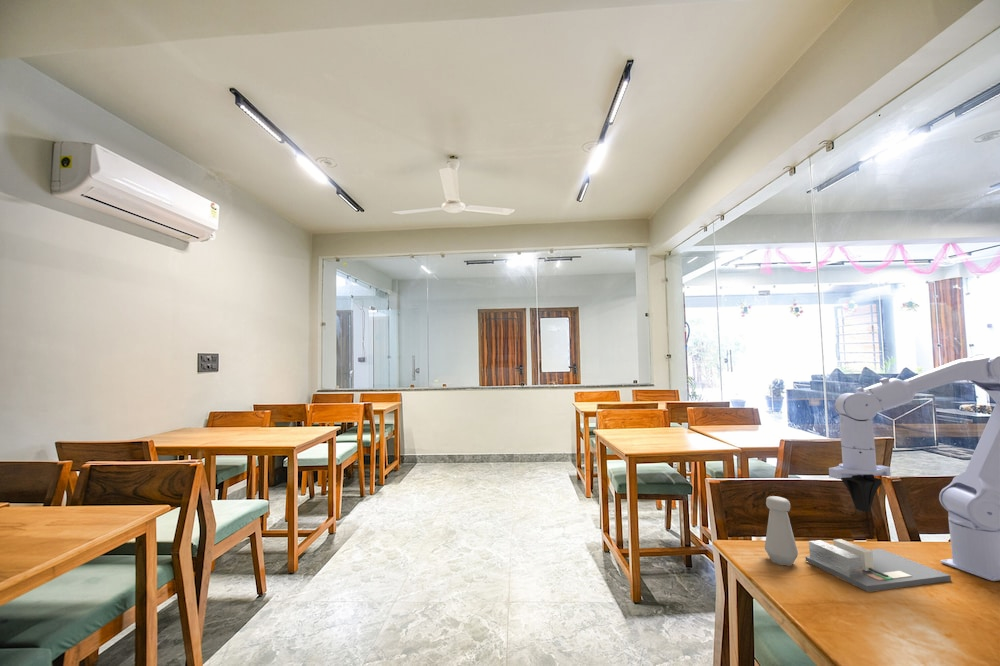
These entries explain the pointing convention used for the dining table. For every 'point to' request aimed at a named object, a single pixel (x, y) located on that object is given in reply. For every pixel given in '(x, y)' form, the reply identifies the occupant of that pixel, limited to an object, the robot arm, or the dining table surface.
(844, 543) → the white rectangular bar
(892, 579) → the base
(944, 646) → the dining table surface
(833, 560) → the grey block
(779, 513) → the salt shaker
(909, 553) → the dining table surface
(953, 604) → the dining table surface
